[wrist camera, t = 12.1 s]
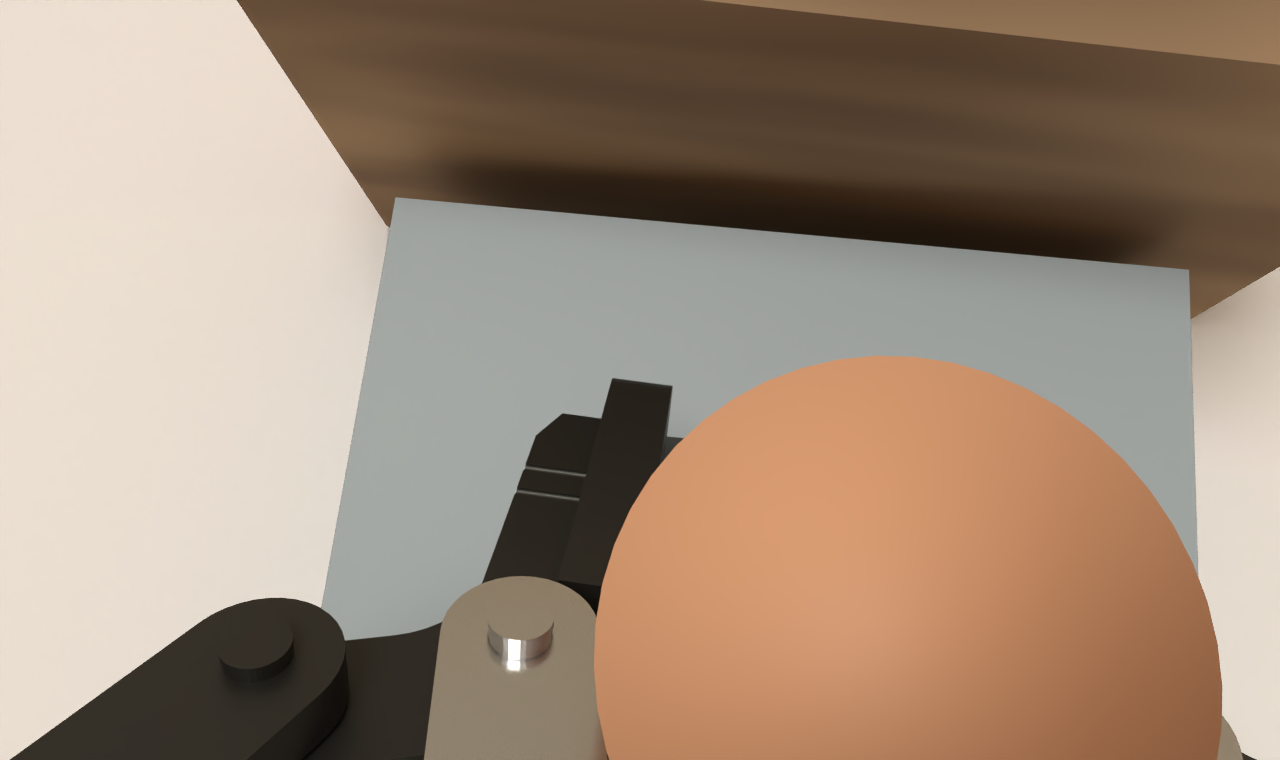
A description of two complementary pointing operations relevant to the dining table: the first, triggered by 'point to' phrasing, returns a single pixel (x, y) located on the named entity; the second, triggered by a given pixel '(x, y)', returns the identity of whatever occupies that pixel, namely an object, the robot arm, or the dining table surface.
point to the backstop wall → (822, 117)
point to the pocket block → (696, 362)
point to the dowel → (901, 584)
